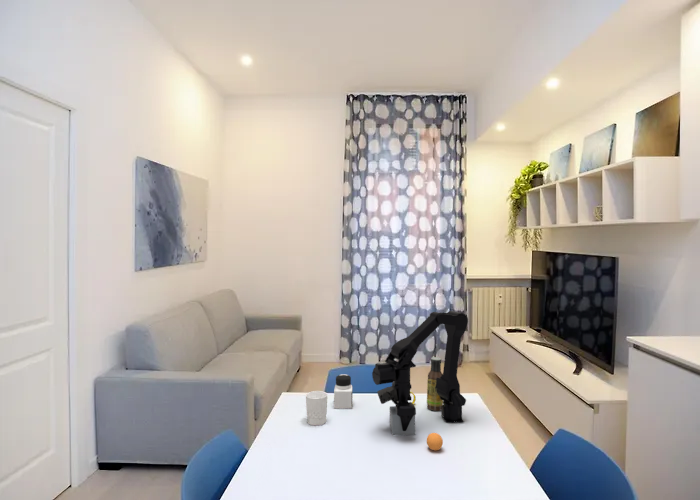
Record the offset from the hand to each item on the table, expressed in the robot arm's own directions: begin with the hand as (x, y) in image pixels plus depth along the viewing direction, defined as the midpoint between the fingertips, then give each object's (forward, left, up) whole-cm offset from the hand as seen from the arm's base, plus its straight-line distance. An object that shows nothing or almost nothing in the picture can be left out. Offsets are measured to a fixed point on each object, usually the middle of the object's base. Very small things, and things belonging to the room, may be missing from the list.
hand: (402, 425), depth 141 cm
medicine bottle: (+20, -23, -2) cm, 31 cm away
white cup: (+30, -8, -2) cm, 31 cm away
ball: (-8, +14, +1) cm, 16 cm away
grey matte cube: (0, 0, -2) cm, 2 cm away
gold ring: (-6, -22, -2) cm, 23 cm away
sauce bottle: (-16, -18, -2) cm, 24 cm away
